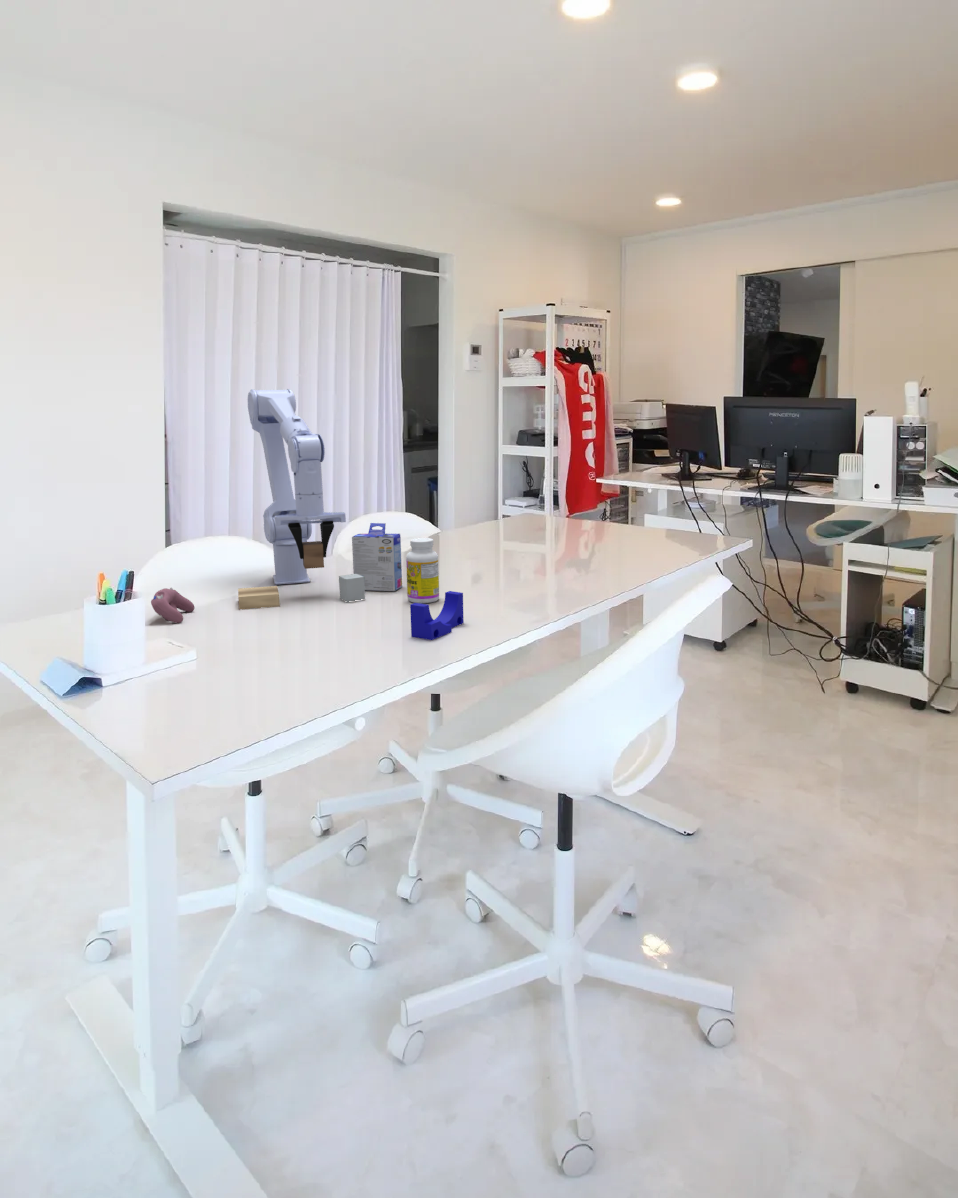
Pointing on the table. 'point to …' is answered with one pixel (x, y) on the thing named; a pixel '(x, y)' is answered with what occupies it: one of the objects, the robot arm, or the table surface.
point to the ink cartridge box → (378, 559)
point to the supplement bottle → (422, 572)
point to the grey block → (351, 587)
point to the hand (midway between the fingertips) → (312, 557)
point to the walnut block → (313, 554)
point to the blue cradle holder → (443, 623)
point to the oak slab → (258, 597)
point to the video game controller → (171, 604)
